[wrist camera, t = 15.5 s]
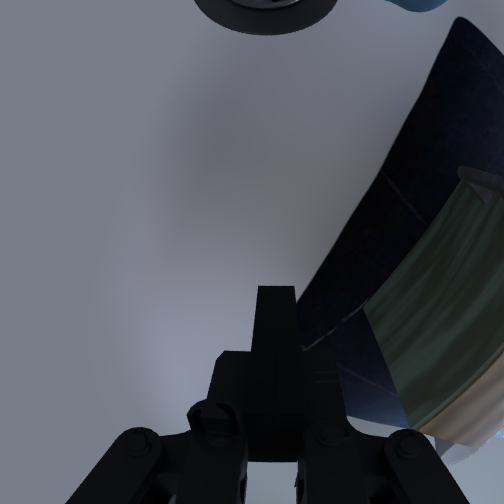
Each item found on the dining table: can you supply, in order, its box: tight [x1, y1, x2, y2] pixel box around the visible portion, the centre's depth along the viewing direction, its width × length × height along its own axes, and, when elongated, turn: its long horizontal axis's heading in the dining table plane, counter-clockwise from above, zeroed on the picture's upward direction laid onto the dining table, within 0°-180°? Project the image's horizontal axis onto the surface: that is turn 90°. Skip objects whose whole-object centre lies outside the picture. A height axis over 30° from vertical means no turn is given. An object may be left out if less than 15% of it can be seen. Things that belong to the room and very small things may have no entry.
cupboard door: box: [362, 166, 504, 430], centre depth 30 cm, size 7×26×24 cm, turn 147°
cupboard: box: [416, 350, 504, 449], centre depth 31 cm, size 18×26×24 cm
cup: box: [434, 437, 487, 466], centre depth 47 cm, size 14×14×16 cm
